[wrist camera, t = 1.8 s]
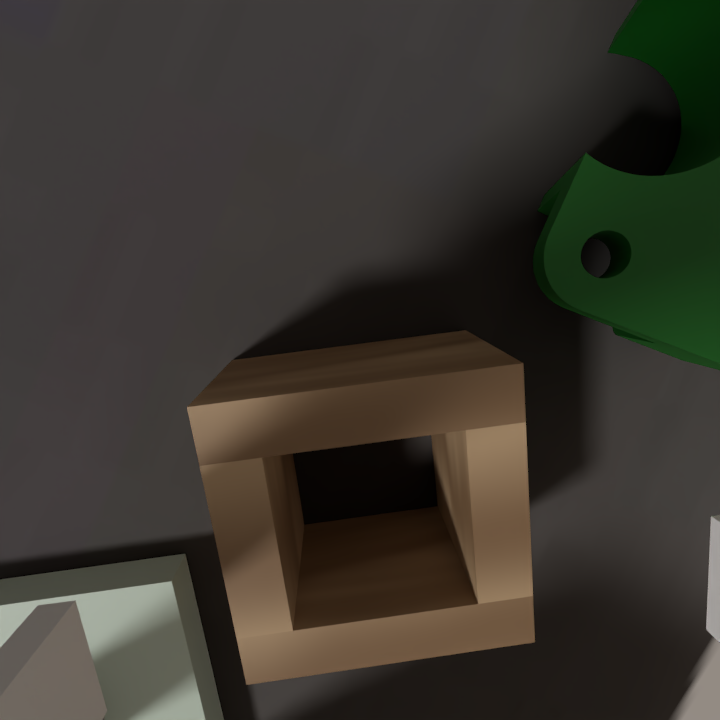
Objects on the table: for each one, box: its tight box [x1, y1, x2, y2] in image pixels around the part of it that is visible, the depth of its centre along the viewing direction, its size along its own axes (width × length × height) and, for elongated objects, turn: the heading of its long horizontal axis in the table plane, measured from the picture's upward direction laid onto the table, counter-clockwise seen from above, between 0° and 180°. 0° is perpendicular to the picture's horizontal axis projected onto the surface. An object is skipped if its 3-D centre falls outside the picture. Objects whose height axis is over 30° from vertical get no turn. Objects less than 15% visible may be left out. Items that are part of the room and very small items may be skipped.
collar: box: [187, 330, 535, 685], centre depth 14 cm, size 8×8×5 cm
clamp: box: [533, 0, 720, 370], centre depth 12 cm, size 12×6×9 cm, turn 153°
